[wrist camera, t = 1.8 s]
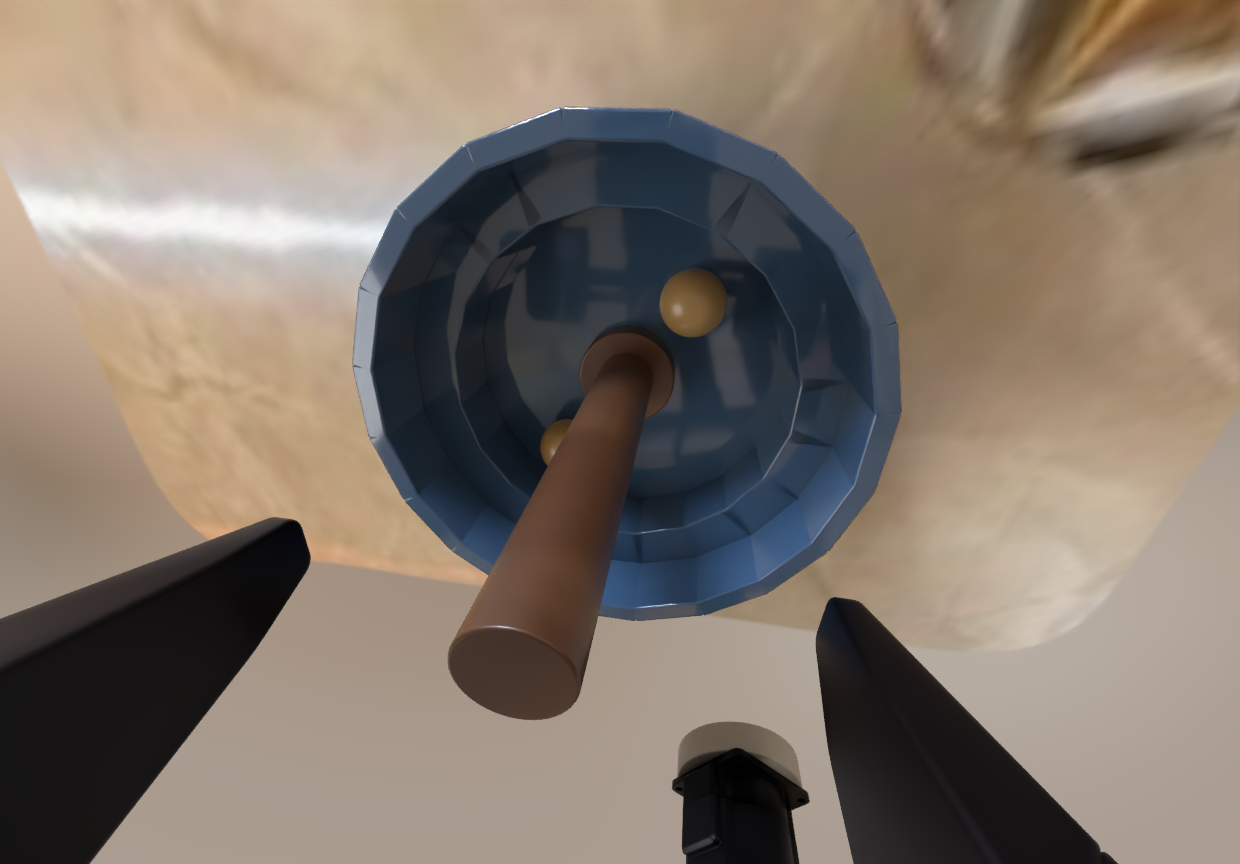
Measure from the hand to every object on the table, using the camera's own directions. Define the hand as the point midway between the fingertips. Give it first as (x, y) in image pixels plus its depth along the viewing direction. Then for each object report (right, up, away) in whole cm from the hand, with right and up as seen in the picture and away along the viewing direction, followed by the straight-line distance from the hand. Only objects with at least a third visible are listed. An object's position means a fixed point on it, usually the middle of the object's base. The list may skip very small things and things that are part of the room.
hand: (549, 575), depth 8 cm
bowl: (+2, +5, +9) cm, 10 cm away
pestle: (+2, +5, +9) cm, 10 cm away
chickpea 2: (+3, +6, +6) cm, 9 cm away
